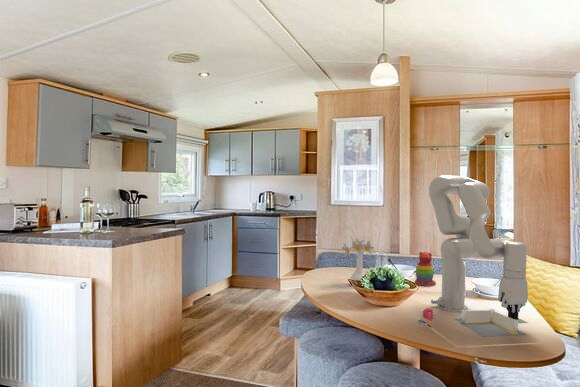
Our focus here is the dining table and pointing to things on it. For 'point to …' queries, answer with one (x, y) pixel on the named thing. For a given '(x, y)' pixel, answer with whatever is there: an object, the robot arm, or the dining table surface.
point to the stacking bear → (425, 270)
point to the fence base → (485, 323)
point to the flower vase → (358, 256)
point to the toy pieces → (427, 315)
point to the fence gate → (505, 321)
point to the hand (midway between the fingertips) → (512, 321)
